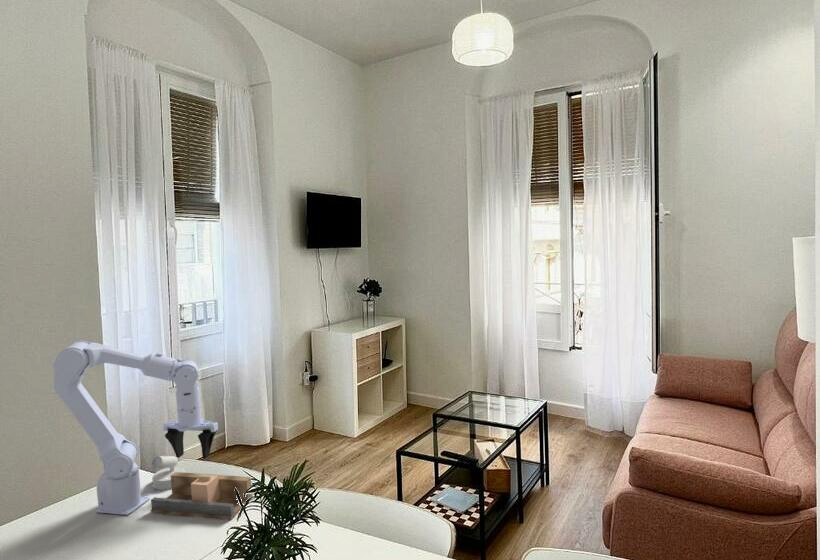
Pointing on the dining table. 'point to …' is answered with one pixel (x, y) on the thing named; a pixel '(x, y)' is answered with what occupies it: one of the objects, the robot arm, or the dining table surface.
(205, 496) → the cabinet block
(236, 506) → the wall board
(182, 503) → the lip
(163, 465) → the wall hook
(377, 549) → the dining table surface
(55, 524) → the dining table surface
